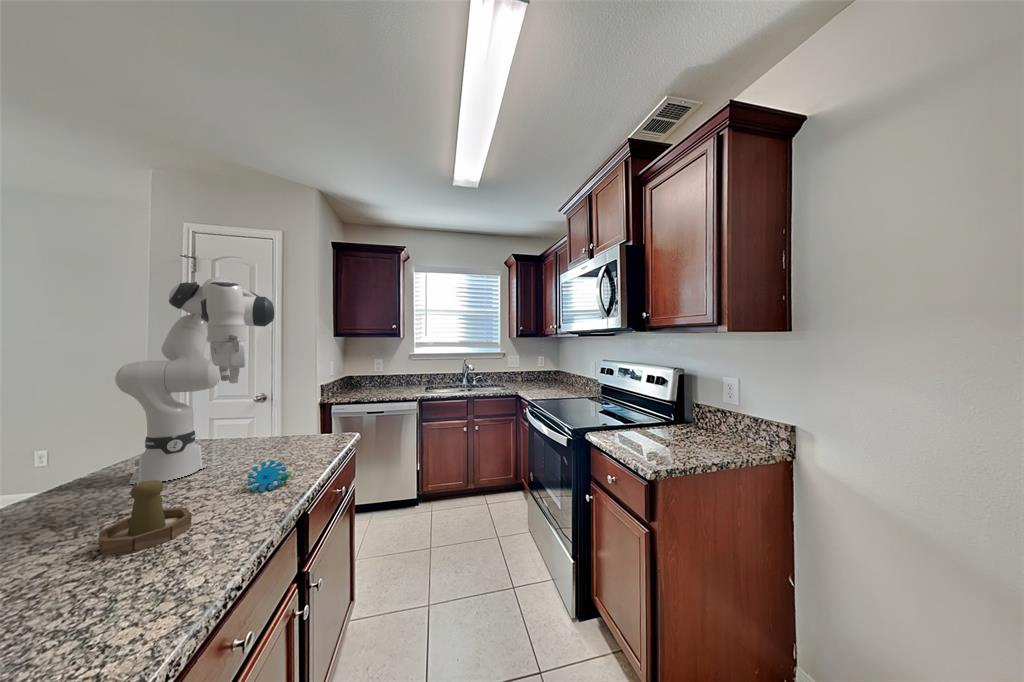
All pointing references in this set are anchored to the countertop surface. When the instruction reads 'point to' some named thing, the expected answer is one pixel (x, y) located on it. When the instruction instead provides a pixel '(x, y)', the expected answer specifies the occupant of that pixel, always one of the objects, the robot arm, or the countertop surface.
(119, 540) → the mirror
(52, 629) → the countertop surface
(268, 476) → the gear
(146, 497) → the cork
